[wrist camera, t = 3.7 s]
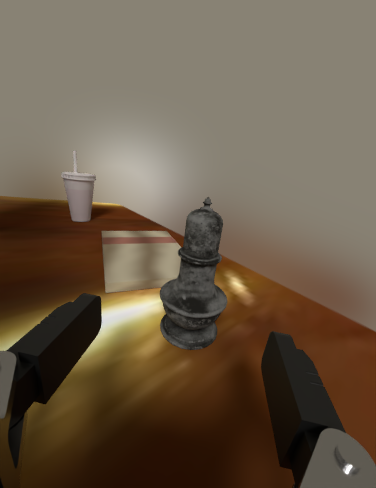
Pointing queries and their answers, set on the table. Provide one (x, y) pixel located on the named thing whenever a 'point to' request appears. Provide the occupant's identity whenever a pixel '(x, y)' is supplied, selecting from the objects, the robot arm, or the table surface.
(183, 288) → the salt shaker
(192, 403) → the table surface
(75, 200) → the smoothie
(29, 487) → the table surface
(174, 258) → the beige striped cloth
